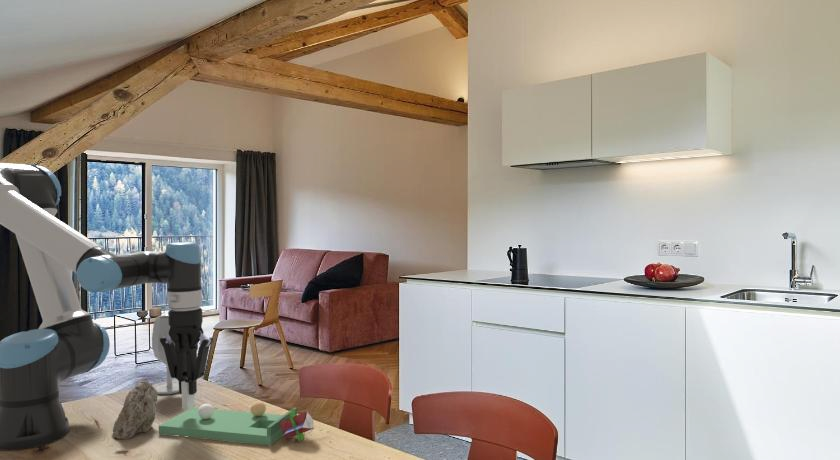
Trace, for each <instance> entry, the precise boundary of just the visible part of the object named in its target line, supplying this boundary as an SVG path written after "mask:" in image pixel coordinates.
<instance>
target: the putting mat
mask: <svg viewBox="0 0 840 460" xmlns="http://www.w3.org/2000/svg"><path fill="white" fill-rule="evenodd" d="M199 408H200V407H195V406H194V407H192V408H190V409H188V410H185V411H184V412H182V413H180V414H179V415H176V416H175V417H173V418H170V419H169V420H167V421H164V422H163V423H161V424H159V425H158V435H161V434H165V435H164V436H171V435H179V436H178V437H181V436H188V437H187V438H191V437H195V438H194V439H201V438H206V439H205V440H211V439H214V441H221V440H222V441H223V442H232V443H242V444H243V443H244V444H253V445H262V446H272V445H273V444H275V442H277V441H278V440H280V439H281V438H282V437H283V436H284V433H283V431H282V428H281V426H280V423H279V422H281V421H283V420H286V419H289V418H290V417H289V416H287V415H288V414H289V413H290V412H291V410H292V409H293V408H294V409H293V410H294V412H295V413H296V414H295V415H298V408H297V407H293V408H291V409H290V410H288V411H287V412H285V413H284V414H274V413H273V414H272V413H264V414H263V415H262V416H259V417H257V416H254V415H253V414H252V413H251V411H250V412H249V411H239V410H227V409H216V408H214V414H213V415H212V417H211V418H209V419H202V418H201V417H200V416H199V414H198V410H199ZM296 410H297V411H296ZM286 416H287V417H286ZM282 419H283V420H282Z"/></svg>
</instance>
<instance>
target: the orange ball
mask: <svg viewBox="0 0 840 460" xmlns="http://www.w3.org/2000/svg"><path fill="white" fill-rule="evenodd" d="M266 408H267V406H266V404H265V403H264V402H263V401H261V400H260V401H259V400H257V401H254V402H253V403H252V404H251V406H250V412H251V413H252V414H253V415H254V416H257V417H259V416H262V415H263V414H266V413H265V412H266V410H267V409H266Z"/></svg>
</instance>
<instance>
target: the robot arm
mask: <svg viewBox="0 0 840 460" xmlns="http://www.w3.org/2000/svg"><path fill="white" fill-rule="evenodd" d="M61 196H62V187H61V184H60V181H59V179H58V178H57V176H56V175H55V173H53V172H52V171H51V170H50V169H48V168H46V167H44V166H41V165H36V164H33V163H14V162H13V163H11V162H0V225H1V226H3V227H4V228H6V229H7V230H9V231H10V232H12V233H13V234H15V238H16V240H17V244H18V247H19V250H20V253H21V255H22V260H23V262H24V265H25V269H26V273H27V275H28V278H29V281H30V283H31V284H30V285H31V289H32V291H33V294H34V296H35V300H36V303H37V306H38V310H39V312H40V316H41V319H42V323H41V324H40V325H39V327H38V328H35V329H29V330H27V331H20V332H17V333H13V334H11V335H9V336H8V335H7V336H6V337H4V338H3V339H1V340H0V451H1V450H2V451H16V450H25V449H30V448H32V449H33V448H37V447H41V446H44V445H47V444H51V443H53V442H56V441H58V440H61V439H62V438H64V437H65V436H66V435H68V434H69V432H70V425H69V424H70V422H69V419H68V418H67V416H66V413H65V409H64V407H63V405H62V403H61V401H60V382H62V381H65V380H68V379H71V378H73V377H76V376H79V375H83V374H85V373H88V372H91V370H93V369H95V368H97V367H99V366H100V365H102V364H103V362H104V361H105V360H106V358H107V356H108V354H109V351H110V344H111V343H110V338H109V337H110V336H109V334H108V332H107V329H105V327H103V326H101V325H100V324H99V323H96V322H94V321H93V317H92V314H91V313H90V312H87V311H85V310H83V309H82V306H81V303H80V300H79V297H78V294H77V290H76V288H75V285H74V281H73V279H72V275H71V272H70V271H73V272H74V273H75V274H76V279H77V281H78V282H79V284H80V287H81V288H82V289H84V290H85V291H86V292H89V293H106V292H110V291H113V290H118V289H122V288H127V287H128V288H129V287H134V286H139V285H143V284H166V290H167V308H169V310H168V311H167V315H168V324H169V326H170V330H169V334H168V335H166V336H165V337H162V338H160V342H161V344H162V346H163V347H164V351H165V355H166V359H167V363H168V367H169V372H170V376H171V377H172V379H176V380H177V381H178V383H179V392H178V393H179V395H181V410H185V411H187V410H189V409H191V408H193V407H194V408H195V394H197V392H198V389H197V387H198V386H197V380H198V379H200V378H203V377H205V372H206V368H207V362H208V355H209V352H210V347H211V345H212V343H213V342H214V339H213V338H212V337H208V336H206V334H204V329H203V328H202V327H203V326H202V325H203V308H201V306H202V305H203V292H202V259H201V248H200V245H199V244H198V243H197V242H194V241H193V242H190V241H186V242H168V243H167V244H166V245H165V250H162V251H153V250H152V251H146V250H144V251H143V250H132V251H126V252H123V253H121V254H120V253H119V254H114V253H112V252H111V251H109V250H107V249H106V248H104V247H102V246H101V245H99V244H97V243H96V242H95V241H94V240H91V239H89V238H88V237H86V236H85V235H84V234H82V233H81V232H79V231H77V230H76V229H74V228H73V227H71V226H70V225H68V224H66V223H65V222H64V221H61V220H60V219H58V218H57V217H56V214H57V213H58V209H57V205H58V204H59V203H60V197H61ZM174 344H175V345H174ZM198 345H199V346H198Z"/></svg>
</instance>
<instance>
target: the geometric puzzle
mask: <svg viewBox="0 0 840 460" xmlns="http://www.w3.org/2000/svg"><path fill="white" fill-rule="evenodd" d="M294 408H295V407H292V408H291V409H292V410H291V409H290V410H291V412H290V413H289V414H288V415H287V416H289V417H290V418H289V419H286V420H283V419H282V420H283V421H281V422H279V423H280V426H281V428H282V431H283V433H284V435H283V436H284V438H285V440H291V439H292V438H293V439H294V440H293V442H295V443H297V444H301V443H302V442H303V440H304V438H305V437H306V432H307V434H310V432H312V431H313V430H314V429H315V426H314V418H313V417H312V416H311V415H310V413H309V412H308V411H306V410H305V411H304V410H302V409H301V410H302V412H300V411H299V410H298V409H297V410H296V411H297V413H298V414H297V415H295V414H296V413H295V412H294V410H293V409H294ZM287 416H286V417H287ZM296 438H297V439H298V440H295V439H296Z"/></svg>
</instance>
